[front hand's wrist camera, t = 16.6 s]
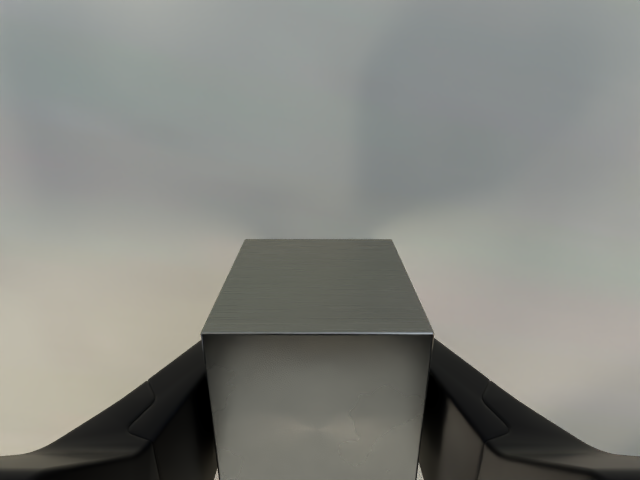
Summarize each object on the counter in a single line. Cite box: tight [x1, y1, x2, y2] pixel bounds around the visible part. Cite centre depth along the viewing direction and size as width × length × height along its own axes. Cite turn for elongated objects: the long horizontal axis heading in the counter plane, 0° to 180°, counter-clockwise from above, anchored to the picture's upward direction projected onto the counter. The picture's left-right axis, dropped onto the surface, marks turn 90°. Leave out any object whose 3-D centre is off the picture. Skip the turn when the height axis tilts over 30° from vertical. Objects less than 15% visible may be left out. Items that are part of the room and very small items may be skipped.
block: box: [201, 239, 434, 480], centre depth 10 cm, size 5×4×5 cm
